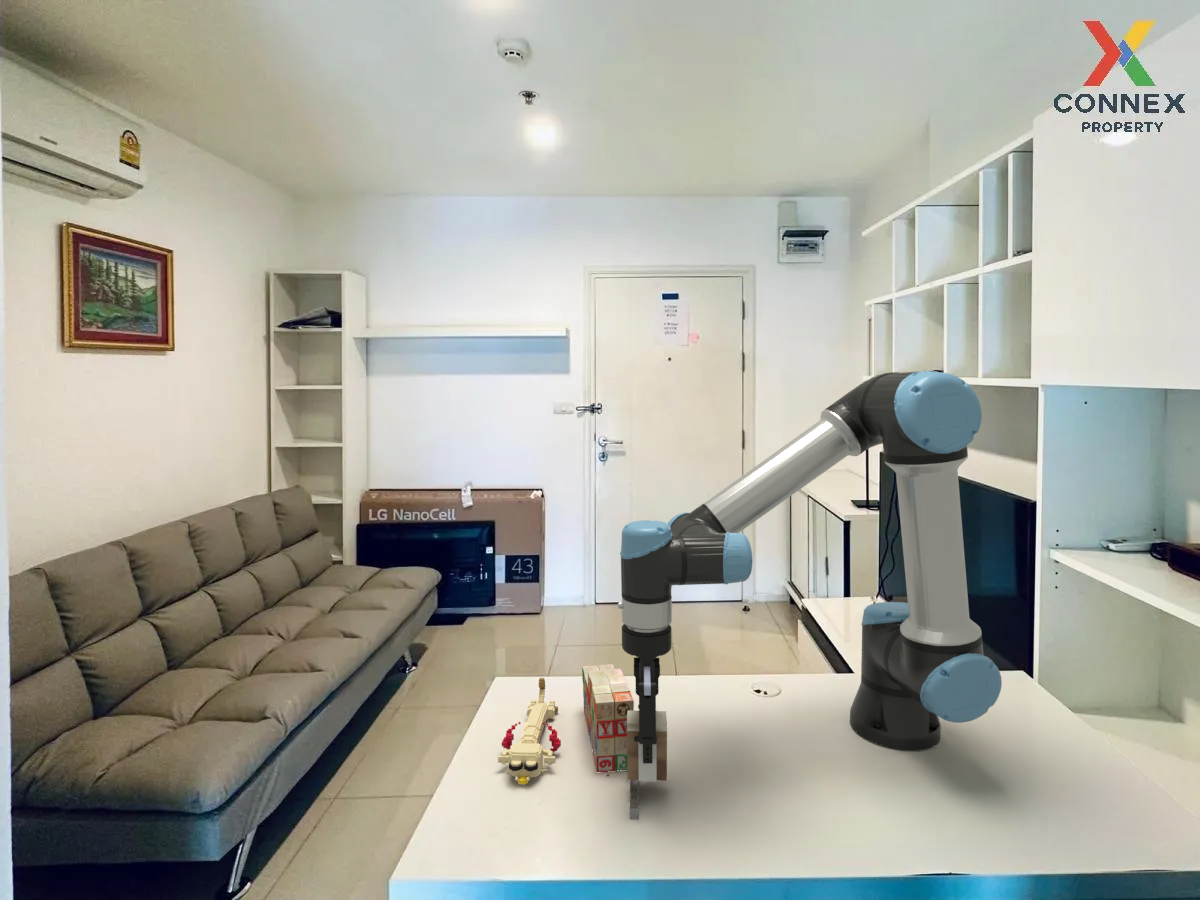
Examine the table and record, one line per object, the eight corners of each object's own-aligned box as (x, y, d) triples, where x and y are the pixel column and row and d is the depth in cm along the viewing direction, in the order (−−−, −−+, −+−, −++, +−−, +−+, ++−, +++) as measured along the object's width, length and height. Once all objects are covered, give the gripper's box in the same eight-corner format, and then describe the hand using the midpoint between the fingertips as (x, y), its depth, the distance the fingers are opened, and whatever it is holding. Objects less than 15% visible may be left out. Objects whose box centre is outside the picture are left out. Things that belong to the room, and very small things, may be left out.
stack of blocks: (582, 711, 132) (581, 650, 130) (614, 709, 132) (614, 648, 131) (596, 774, 110) (595, 701, 109) (634, 771, 111) (634, 699, 110)
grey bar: (638, 775, 110) (638, 766, 110) (638, 819, 99) (637, 808, 99) (630, 775, 110) (630, 765, 110) (629, 818, 99) (629, 808, 99)
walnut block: (665, 765, 107) (666, 711, 106) (666, 780, 103) (667, 724, 102) (627, 765, 107) (627, 710, 106) (627, 779, 103) (627, 723, 102)
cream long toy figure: (517, 719, 131) (490, 785, 106) (517, 674, 131) (489, 730, 106) (569, 720, 131) (553, 787, 106) (568, 675, 131) (553, 731, 106)
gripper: (623, 605, 111) (624, 741, 114) (620, 645, 94) (621, 804, 97) (669, 605, 111) (669, 742, 113) (674, 646, 94) (674, 805, 96)
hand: (647, 770), depth 105 cm, fingers closed on walnut block, 4 cm apart
